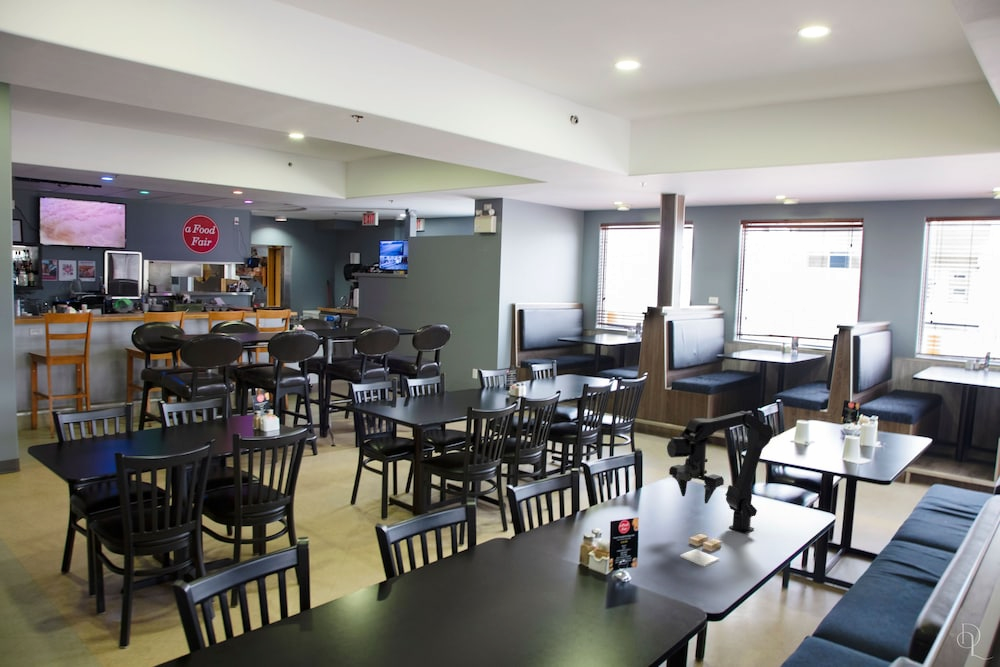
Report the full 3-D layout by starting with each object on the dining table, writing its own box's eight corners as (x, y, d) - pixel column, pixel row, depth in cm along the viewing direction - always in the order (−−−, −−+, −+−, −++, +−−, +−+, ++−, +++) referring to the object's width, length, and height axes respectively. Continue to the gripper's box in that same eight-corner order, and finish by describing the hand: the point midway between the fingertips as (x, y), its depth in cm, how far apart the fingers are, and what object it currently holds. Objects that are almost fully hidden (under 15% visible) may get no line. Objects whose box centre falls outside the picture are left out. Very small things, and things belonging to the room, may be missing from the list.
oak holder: (699, 539, 235) (700, 533, 234) (721, 547, 228) (721, 541, 228) (689, 543, 231) (689, 537, 231) (710, 551, 225) (711, 545, 224)
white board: (695, 549, 225) (719, 558, 218) (695, 552, 225) (719, 562, 218) (680, 554, 220) (704, 564, 213) (680, 558, 220) (704, 568, 213)
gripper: (660, 453, 240) (658, 496, 241) (706, 466, 225) (704, 512, 227) (679, 448, 247) (677, 491, 248) (725, 460, 233) (723, 505, 234)
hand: (694, 499), depth 239 cm, fingers open, 9 cm apart
